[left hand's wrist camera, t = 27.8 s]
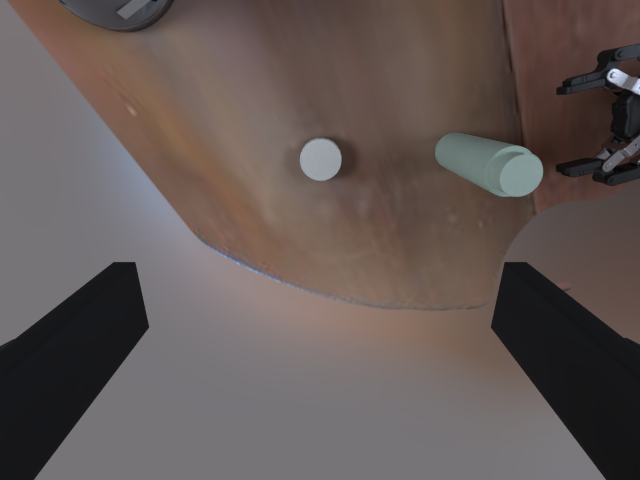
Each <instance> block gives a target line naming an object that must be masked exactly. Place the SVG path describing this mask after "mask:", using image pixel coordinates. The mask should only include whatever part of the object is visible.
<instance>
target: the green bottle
mask: <svg viewBox="0 0 640 480" xmlns="http://www.w3.org/2000/svg"><path fill="white" fill-rule="evenodd" d="M435 157H436V160H437V162H438V163H439V164H440V165H441V166H442V167H444V168H446V169H448V170H450V171H452V172H454V173H456V174H457V175H459V176H461V177H463V178H465V179H467V180H469V181H471V182H472V183H474V184H476V185H478V186H480V187H482V188H484V189H486V190H488V191H489V192H491V193H493V194H495V195H497V196H502V197H508V196H513V197H521V196H524V195H527V194H529V193H531V192H532V191H533V190H534V189H535V188H536V187H537V186H538V185H539V183H540V182H541V179H542V176H543V167H542V164H541V161H540V160H539V158H538V157H537V156H535V155H534V154H532V153H531V152H530V151H529V150H528V149H526V148H524V147H521V146H517V145H513V144H508V143H504V142H499V141H495V140H490V139H486V138H481V137H477V136H472V135H468V134H463V133H459V132H452V133H449V134H446V135H445V136H443V137H442V138H441V139H440V140H439V142H438V143H437V145H436V149H435Z"/></svg>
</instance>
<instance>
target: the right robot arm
mask: <svg viewBox="0 0 640 480" xmlns="http://www.w3.org/2000/svg"><path fill="white" fill-rule="evenodd" d="M632 58H637V60H638V61H639V62H640V44H635V45H630V46H625V47H620V48H615V49H610V50H605V51H602V52H600V53H599V54H598V57H597V61H598V62H599V63H598V66H597V68H596V69H595V70H594V71H593V72H591V73H587V74H583V75H579V76H575V77H571V78H567V79H566V80H564V81H563V86H561V87H558V88H557V95H565V94H571V93H575V92H579V91H583V90H587V89H591V88H595V87H599V86H600V87H602V88H604V91H606V92H607V93H609V94H611V95H613V96H615V97H617V99H616V101H615V103H612V114H613V120H612V123H611V132H613V133H614V134H613V135H612V136H611V137H610V138H609V139H608V140H606V141H605V142H604V143H603V144H602V146H601V147H602V148H601V150H599V151H598V152H597V153H596V154H595V155H594V156H593V157H592V158H583V159H579V160H575V161H570V162H566V163H562V164H558V165H556V171H557V172H560V173H562V175H565V176H569V177H578V176H582V175H587V174H591V173H593V174H594V175H593V177H592V179H593V180H594V181H596V182H601V183H604V184H607V185H610V186H614V185H617V184H621V183H625V182H628V181H632V180H635V179H639V178H640V154H639V155H638V156H636V157H634V158H631V159H630V160H629V163H626V164H622V165H619V166H616V165H617V164H619V163H620V162H621V161H622V160H623V159H624V158H627V157H630V156H632V155H633V154H634V153H635V152H636V151H637V150H639V149H640V76H639V77H638V78H637V77H632V76H629V75H627V74H625V73H623V72H622V71H620V70H618V67H619V64H620V62H621V60H627V59H632ZM623 141H624V142H626V143H625V144H620V143H622V142H623Z"/></svg>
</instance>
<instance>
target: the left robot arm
mask: <svg viewBox="0 0 640 480" xmlns="http://www.w3.org/2000/svg"><path fill="white" fill-rule="evenodd" d="M58 1H59V2H60V3H61V4H62V5H63V6H64V7H65V8H67V9H68V10H69V11H70V12H72V13H73V14H74V15H76V16H77V17H79V18H81V19H83V20H84V21H86V22H89V23H91V24H93V25H96V26H99V27H102V28H105V29H108V30H112V31H119V32H131V31H137V30H141V29H144V28H146V27H148V26H150V25H152V24H154V23H155V22H157V21H158V20H159V19H160V18H161V17H162V16H163V15H164V14H165V13H166V12H167V11H168V9H169V8H170V6H171V5H172V3H173V1H174V0H58ZM148 328H149V324H148V320H147V315H146V311H145V306H144V301H143V296H142V292H141V287H140V282H139V278H138V273H137V268H136V264H135V262H113V263H112V264H111V265H109V266H108V267H107V268H106V269H104V270H103V271H102V272H100V273H99V274H98V275H97V276H95V277H94V278H93V279H92V280H90V281H89V282H88V283H86V284H85V285H84V286H83V287H81V288H80V289H79V290H77V291H76V292H75V293H74V294H72V295H71V296H70V297H68V298H67V299H66V300H65V301H63V302H62V303H61V304H59V305H58V306H57V307H56V308H54V309H53V310H52V311H50V312H49V313H48V314H47V315H45V316H44V317H43V318H41V319H40V320H39V321H38V322H36V323H35V324H34V325H32V326H31V327H30V328H29V329H27V330H26V331H25V332H23V333H22V334H21V335H20V336H18V337H17V338H16V339H13V340H11V341H9V342H7V343H5V344H4V345H2V346H0V480H34V479H35V477H36V476H37V475H38V473H39V472H40V471H41V470H42V468H43V467H44V466H45V464H46V463H47V462H48V460H49V459H50V458H51V456H52V455H53V454H54V452H55V451H56V450H57V448H58V447H59V446H60V444H61V443H62V442H63V440H64V439H65V438H66V437H67V435H68V434H69V433H70V431H71V430H72V429H73V427H74V426H75V425H76V423H77V422H78V421H79V419H80V418H81V417H82V415H83V414H84V413H85V411H86V410H87V409H88V407H89V406H90V405H91V403H92V402H93V401H94V399H95V398H96V397H97V396H98V394H99V393H100V392H101V390H102V389H103V388H104V386H105V385H106V384H107V382H108V381H109V380H110V378H111V377H112V376H113V374H114V373H115V372H116V370H117V369H118V368H119V366H120V365H121V364H122V362H123V361H124V360H125V359H126V357H127V356H128V355H129V353H130V352H131V351H132V349H133V348H134V347H135V345H136V344H137V343H138V341H139V340H140V339H141V337H142V336H143V335H144V333H145V332H146V331H147V329H148ZM491 328H492V329H493V331H494V332H495V333H496V335H497V336H498V337H499V339H500V340H501V341H502V343H503V344H504V345H505V347H506V348H507V349H508V351H509V352H510V353H511V355H512V356H513V357H514V359H515V360H516V361H517V362H518V364H519V365H520V366H521V368H522V369H523V370H524V372H525V373H526V374H527V376H528V377H529V378H530V380H531V381H532V382H533V384H534V385H535V386H536V388H537V389H538V390H539V392H540V393H541V394H542V395H543V397H544V398H545V400H546V401H547V402H548V403H549V405H550V406H551V407H552V409H553V410H554V411H555V413H556V414H557V415H558V417H559V418H560V419H561V421H562V422H563V423H564V425H565V426H566V427H567V429H568V430H569V431H570V433H571V434H572V435H573V437H574V438H575V439H576V440H577V442H578V443H579V444H580V446H581V447H582V448H583V450H584V451H585V452H586V454H587V455H588V456H589V458H590V459H591V460H592V462H593V463H594V464H595V466H596V467H597V468H598V469H599V471H600V472H601V474H602V475H603V476H604V477H605V479H606V480H640V345H639V344H638V343H636V342H634V341H632V340H630V339H628V338H623V337H622V336H620V335H619V334H618V333H616V332H615V331H614V330H613V329H611V328H610V327H609V326H608V325H606V324H605V323H604V322H602V321H601V320H600V319H598V318H597V317H596V316H595V315H593V314H592V313H591V312H590V311H588V310H587V309H586V308H584V307H583V306H582V305H581V304H579V303H578V302H577V301H575V300H574V299H573V298H572V297H570V296H569V295H568V294H566V293H565V292H564V291H563V290H561V289H560V288H559V287H557V286H556V285H555V284H554V283H552V282H551V281H550V280H549V279H547V278H546V277H545V276H543V275H542V274H541V273H539V272H538V271H537V270H536V269H534V268H533V267H532V266H531V265H529V264H528V263H527V262H505V263H504V268H503V273H502V278H501V282H500V287H499V292H498V297H497V301H496V306H495V310H494V315H493V320H492V324H491Z"/></svg>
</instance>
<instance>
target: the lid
mask: <svg viewBox="0 0 640 480" xmlns="http://www.w3.org/2000/svg"><path fill="white" fill-rule="evenodd" d="M300 154H301V155H300V166H301V168H302V170H303V171H304V173H305V174H306V175H307V176H308V177H310V178H311V179H313V180H317V181H324V180H328V179H330V178H332V177H333V176H334V175H336V173H337V172H338V171H339V169H340V166H341V163H342V162H341V157H342V156H341V154H340V149H338V146H337V145H336V144H335V143H334V142H333V141H331V140H330V139H328V138H323V137H318V138H317V137H316V138H314V139H311V140H310V141H309V142H307V143H306V145H305V146H304V147H303V148H302V152H301V153H300Z"/></svg>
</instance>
